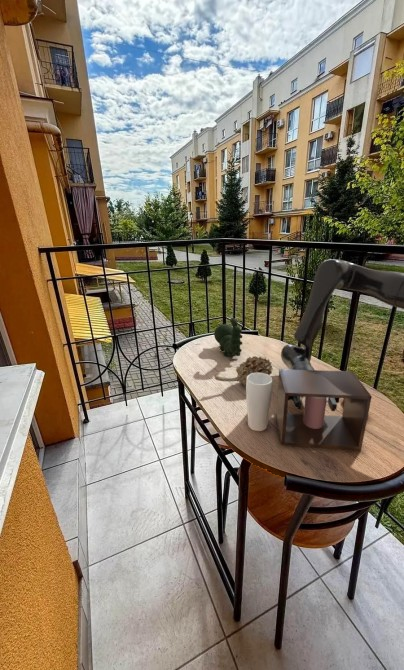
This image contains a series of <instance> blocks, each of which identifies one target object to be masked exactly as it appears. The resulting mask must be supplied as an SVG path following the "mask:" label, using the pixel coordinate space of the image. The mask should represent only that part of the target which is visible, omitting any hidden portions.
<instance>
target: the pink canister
mask: <svg viewBox="0 0 404 670" xmlns="http://www.w3.org/2000/svg"><path fill="white" fill-rule="evenodd" d="M327 398H328V397H304V407H303V415H304V416H303V423H304V424H305V425H306V426H308V427H310V428H313V429H319V428H321V427H323V423H324V416H326V415H325V414H326V407H327V402H326V401H327Z"/></svg>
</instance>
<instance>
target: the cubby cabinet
mask: <svg viewBox="0 0 404 670" xmlns="http://www.w3.org/2000/svg"><path fill="white" fill-rule="evenodd" d="M277 383H278V385H277V400H276V415H275V416H276V422H277V423H276V424H277V428H278V433H279V434H278V435H279V440H280V445H281V446H289V447H302V448H303V447H304V448H320V449H332V450H333V449H334V450H345V451H361V452H362V449H363V448H362V447H363V444H364V443H363V442H364V438H365V432H366V428H367V421H368V419H369V412H370V407H371V402H372V398H373V397H372V396H373V395H372V394H370V392H369V391H368V390H367V388H366V387H365V385H364V384H363V383H362V382H361V380H360V379H359V378H358V376H357V375H356V374H355V372H353V370H351V371H350V370H323V369H322V370H319V369H318V370H317V369H314V370H290V369H289V368H288V369H286V368H285V369H284V368H279V370H278V382H277ZM288 396H305V397H327V398H339V399H343V398H345V403H344V402H343V403H344V404H343V410H342V416H339V415H338V416H337V415H336V416H335V415H325V416H324V423H323V427H321V428H319V429H313V428H310V427H308V426H306V425H305V424H304V423H303V416H304V414H302V413H301V414H299V413H288V405H289V401H288ZM305 397H304V398H305ZM367 418H368V419H367Z"/></svg>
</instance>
